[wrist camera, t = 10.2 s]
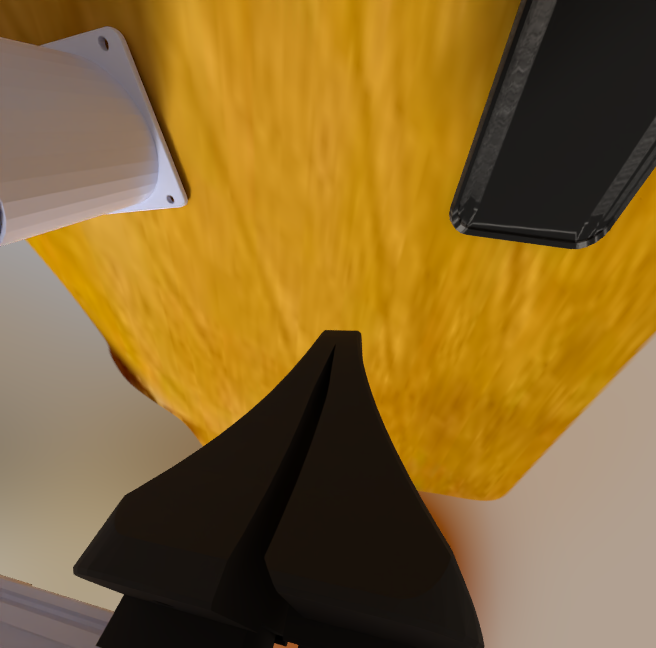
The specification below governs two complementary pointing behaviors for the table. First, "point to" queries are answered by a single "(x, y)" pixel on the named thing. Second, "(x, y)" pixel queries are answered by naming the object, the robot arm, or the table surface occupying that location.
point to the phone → (564, 125)
